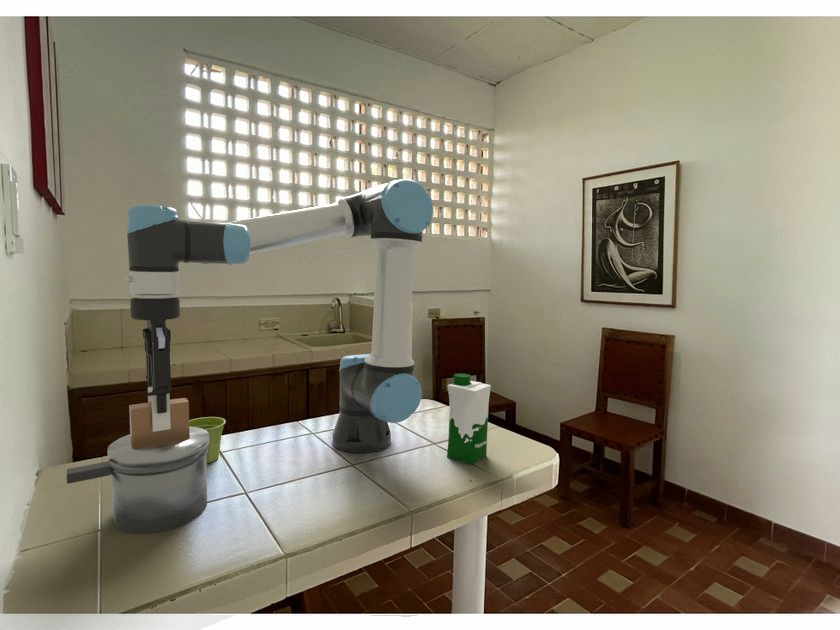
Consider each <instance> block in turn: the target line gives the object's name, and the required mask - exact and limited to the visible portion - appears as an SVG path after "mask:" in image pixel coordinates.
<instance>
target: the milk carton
mask: <svg viewBox="0 0 840 630" xmlns="http://www.w3.org/2000/svg"><path fill="white" fill-rule="evenodd" d="M471 376H472V375H470V374H468V373H461V372H459V373H454V374H453V382H452V383H450V384H447V392H448V398H449V411H448V412H449V416H448V418H449V419H448V438H447V439H448V440H447V451H446V457H447V458H448V459H451V460H456V461H459V462H461V463H465V464H467V465H471V466H472V465H474V464H476V463H477V462H479V461H481V460H482V459H484V458H485V457H487V451H488V449H487V448H488V447H487V446H488V428H489V427H488V424H489V402H490V395H491V388H492V385H491V384H487V383H483V382H481V381H474V380H471Z"/></svg>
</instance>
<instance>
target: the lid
mask: <svg viewBox="0 0 840 630" xmlns="http://www.w3.org/2000/svg"><path fill="white" fill-rule="evenodd" d="M189 403H190V402H189V400H188V398H187V397H182V398H181V397H180V398H173V399H170V425H171V429H167V430H161V431H155V432H153V430H152V402H150V403H148V402H144V403H143V402H141V403H136V404H129V405H128V408H129V410H128V411H129V431H130V432H129V433H130V434H127V435H125V436H122V437H120V438H118V439H116V440H114V441H113V442H112V443H110V444H109V445H108V447H107V451H106V452H107V459H108V461H109V460H110V461H111V462H113V463H115V464H118V465H123V466H152V465H159V464H165V463H170V462H174V461H178V460H182V459H185V458H188V457H190V456H193V455H195V454H197V453H199V452H201V451H202V450H204V449H205V448H206V447H207V446H208V445H209V433H208V432H207V431H206V430H204V429H202V428H198V427H191V426H189V420H190V404H189Z"/></svg>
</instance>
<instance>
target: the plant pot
mask: <svg viewBox="0 0 840 630" xmlns="http://www.w3.org/2000/svg"><path fill="white" fill-rule="evenodd" d="M226 423H227V422H226V419H225V418H222V417H217V416H207V417H198V418H193V419H189V426H191V427H198V428H202V429H204V430H206V431H207V432H208V433H209V445H208V452H207V454H206V464H210V463H213V462H215V461H216V460H218V459H219V457H220V451H221V442H222V441H221V440H222V434H223V430H224V426H225V425H226Z"/></svg>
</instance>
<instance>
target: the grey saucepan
mask: <svg viewBox="0 0 840 630" xmlns="http://www.w3.org/2000/svg"><path fill="white" fill-rule="evenodd" d="M207 452H208V446H207V447H206V448H205V449H204V450H202V451H201V452H199V453H197V454H195V455H193V456H190V457H188V458H185V459H182V460H178V461H174V462H170V463H165V464H159V465H152V466H123V465H118V464H115V463H113V462H111V461H110V460H109V459H108V461H103V462H98V463H93V464H86V465H81V466H75V467H71V468H70V467H69V468H67V469H66V485H68V484H74V483H77V482H78V483H79V482H83V481H88V480H94V479H97V478H103V477H108V476H111V494H112V496H111V499H112V519H113V520H112V522H113V525H114V527H115V528H116V530H118V531H120V532H122V533H126V534H130V535H131V534H133V535H145V534H146V535H147V534H148V535H149V534H154V533H160V532H164V531H168V530H169V531H170V530H172V529H176V528H178V527H181V526H183V525H185V524H188V523H190V522H192V521H193V520H195V519H197V518H198V517H199V516H200V515H201V514H202V513H204V511H205V510H206V508H207V506H208V482H207V479H208V478H207V477H208V475H207V463H206V454H207Z"/></svg>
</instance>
